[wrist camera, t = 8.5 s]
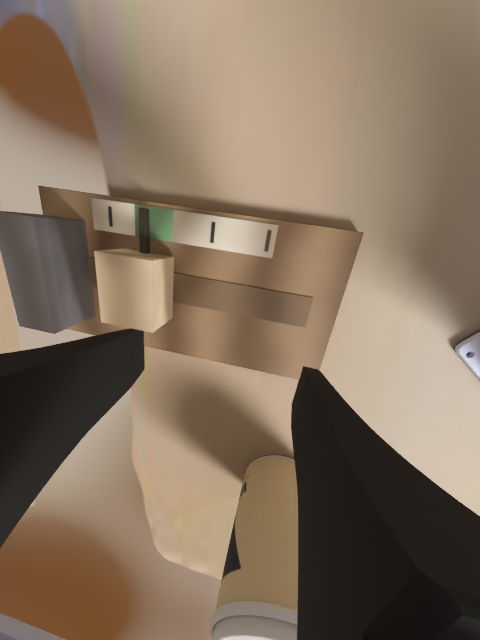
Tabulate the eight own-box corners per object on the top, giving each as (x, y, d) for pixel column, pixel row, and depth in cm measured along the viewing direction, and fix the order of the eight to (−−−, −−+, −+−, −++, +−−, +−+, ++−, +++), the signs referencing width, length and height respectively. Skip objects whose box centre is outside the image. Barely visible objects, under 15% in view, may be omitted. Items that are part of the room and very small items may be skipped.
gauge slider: (175, 212, 16) (151, 207, 13) (172, 318, 19) (152, 332, 16) (123, 205, 16) (88, 198, 13) (128, 309, 19) (101, 322, 16)
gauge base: (358, 232, 15) (391, 231, 11) (313, 376, 20) (323, 418, 15) (50, 188, 18) (-29, 171, 13) (71, 324, 22) (17, 346, 18)
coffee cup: (230, 449, 25) (189, 621, 14) (318, 448, 23) (354, 651, 12) (246, 505, 28) (224, 685, 17) (326, 509, 26) (361, 718, 14)
